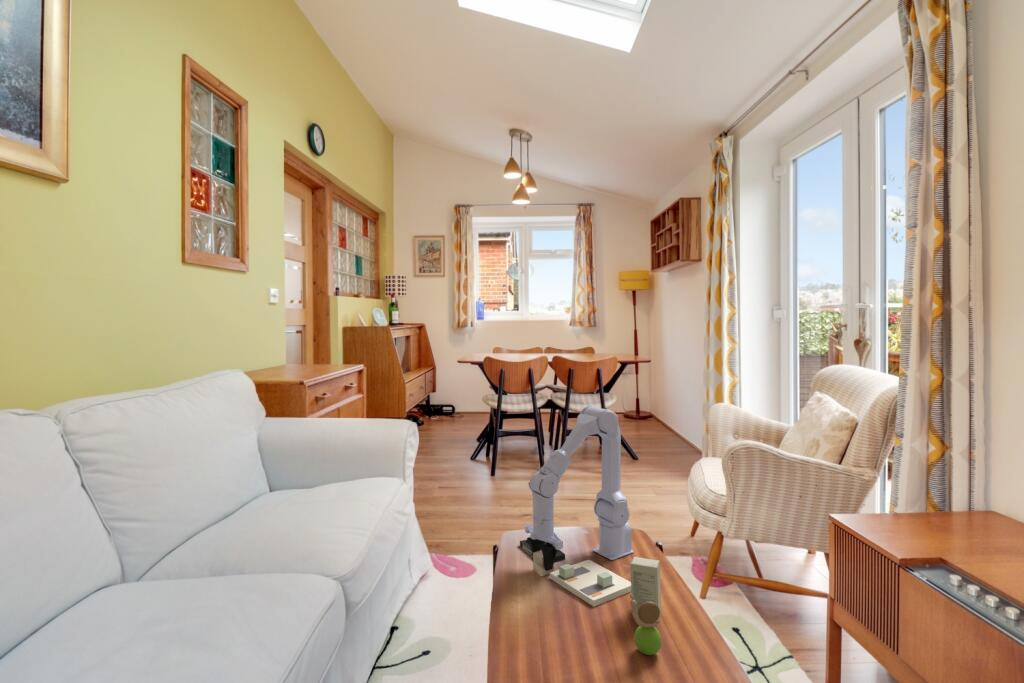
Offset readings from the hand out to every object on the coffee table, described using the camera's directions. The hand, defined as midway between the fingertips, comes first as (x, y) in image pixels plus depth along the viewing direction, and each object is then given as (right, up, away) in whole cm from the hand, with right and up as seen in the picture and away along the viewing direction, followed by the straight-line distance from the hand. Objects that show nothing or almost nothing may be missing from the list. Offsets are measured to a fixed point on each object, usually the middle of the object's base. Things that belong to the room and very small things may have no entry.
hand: (543, 566), depth 137 cm
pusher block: (0, -1, 0) cm, 1 cm away
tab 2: (+15, 0, -11) cm, 18 cm away
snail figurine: (+19, -2, -35) cm, 40 cm away
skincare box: (+22, -2, -21) cm, 31 cm away
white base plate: (+12, -1, -7) cm, 14 cm away
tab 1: (+6, 0, -6) cm, 8 cm away
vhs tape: (0, -2, +12) cm, 12 cm away
